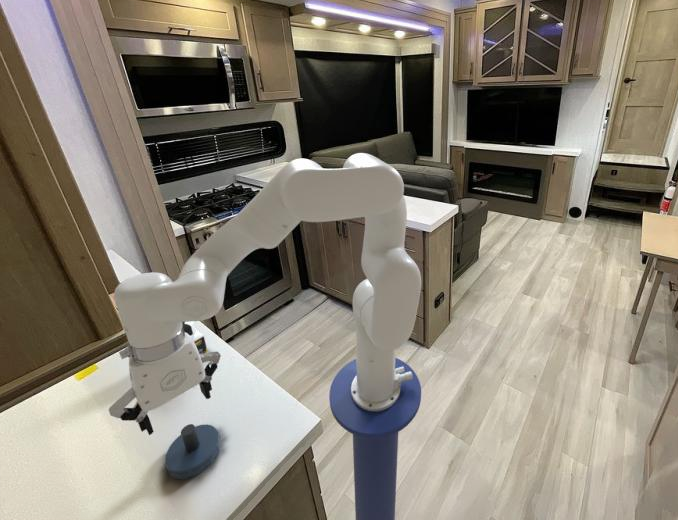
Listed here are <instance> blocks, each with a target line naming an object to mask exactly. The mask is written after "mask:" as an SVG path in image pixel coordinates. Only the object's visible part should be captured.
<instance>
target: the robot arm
mask: <svg viewBox="0 0 678 520" xmlns="http://www.w3.org/2000/svg"><path fill="white" fill-rule="evenodd" d="M404 193H405V183H404V181H403V177H402V175H401V174H400V173H399V171H398V170H397V169H395V168H394V167H393V166H392V165H391V164H389V163H386V162H385V161H383V160H381V159H380V158H378V157H377V156H374V155H372V154H369V153H365V152H357V153H354V154H352V155H351V156H348V158H347V159H346V160H345V162H344V164H343V166H342V167H341V168H323V167H322V166H321V165H320V164H319V163H317V162H315V161H314V160H311V159H308V158H295V159H293V160H290V161H289V162H288V163H286V164H284V166H283V167H282V168H281V169H280V170H279V171H278V172H277V173H276V174H275V175H274V176H273V177H272V178H271V179H270V180H269V181H268V182H267V183H266V184H265V185H264V186H263V188H262V189H260V190H259V192H258V193H256V195H255V196H254V197H253V198H252V199H251V200H250V201H248V203H247V204H246V205H245V206H244V207H243V208H242V209H240V211H239V212H238V213H237V214H236V215H235V216H234V217H232V218H231V219H229V220H228V221H226V223H225V224H223V225H222V226H221V227H219V228H218V229H216V231H215V232H213V233H212V234H211V235H210V236H209V237H208V238H207V239H206V240H205V241H204V242H203V243H202V244H201V245H200V246H199V247H198V248H197V249H196V251H195V252H193V254H191V255H190V257H189V258H188V259H187V261H186V262H185V263H184V265H183V267H182V269H181V271H180V273H179V275H178V278H177V279H176V280H175V281H173V280H172V279H171V277H170V276H168V275H167V274H165V273H162V272H155V271H154V272H153V271H152V272H145V273H139V274H136V275H133V276H130V277H128V278H126V279H125V280H123V281H122V282H120V283H119V284H118V285H117V286H116V287H115V289H114V292H113V300H114V303H115V306H116V308H117V312H118V315H119V317H120V321H121V323H122V327H123V331H124V333H125V335H126V339H127V343H128V344H127V345H126V347H125V348H124V349H123V350H120V351H119V352H118V353H119V356H120V358H121V360H124V359H126V358H128V369H129V370H128V372H129V379H130V383H131V386H132V387H130V388H129V389H128V390H127V391H126V392H125V393H124V394H123V395H122V396H121V397H119V398H118V399H117V400H116V401H115V402H114V403H113V404H112V405H111V406H109V408H108V414H109V415H110V416H111V417H114V418H116V419H120V420H121V421H129V422H131V421H135V422H136V423H137V424H138V427H139V430H140V431H141V432H144V431H146V432H147V434H148V436H151V435H152V434H154V432H155V431H154V428H153V426H152V423H151V419H150V417H149V415H148V413H149V412H150V411H153V410H155V409H158V408H159V407H162V406H163V405H164V404H167V403H168V402H170V401H172V400H173V399H176V398H177V397H179V396H181V395H183V394H184V393H186V392H188V391H189V390H191V389H193V388H194V387H196V386H197V385H199V390H200V392H201V394H202V395H203V396H204V398H205V399H206V400H209V399H211V391H212V390H213V388H212V382H211V381H212V380H213V375H214V373H215V372H216V370H217V369H218V364H219V362H220V360H221V357H222V355H221V354H220V352H219V351H211V352H210V351H209V352H208V353H202V354H199V352H198V349H197V347H196V345H195V343H194V341H193V339H192V337H191V336H190V335H188V334H187V333H186V332H184V328H183V324H182V322H192V321H193V322H202V321H206V320H209V319H211V318H212V317H215V316H216V315H217V314H218V313H219V312H220V311H221V309H222V307H223V304H224V301H225V300H224V299H225V292H226V283H227V278H228V276H229V275H230V274H231V273H232V271H233V270H234V269H236V267H237V266H238V265H239V264H240V263H241V262H242V261H243V260H244V259H245V258H246V257H247V256H248V255H250V254H251V253H253V252H254V251H256V250H259V249H266V250H271V249H275V248H277V247H278V246H279V245H280V244H281V243H283V241H284V240H285V239H286V238H287V236H288V235H289V234H290V233H291V232H292V231H293V230H294V229H295V228H296V227H297V226H298V225H299V224H300V223H301V222H306V223H324V222H326V223H327V222H335V221H343V220H344V221H345V220H351V219H357V218H364V233H363V241H362V251H361V258H360V265H361V269H362V272H363V274H364V275H365V277H366V279H364V280H362V281H361V282H359V284H358V285H356V288H354V289H355V290H354V292H353V295H352V312H353V319H354V326H355V327H354V328H355V329H354V330H355V353H356V355H355V357H356V358H355V359H356V364H357V375H356V376H355V378H354V379H353V382H352V384H351V395H352V398H353V400H354V402H355V403H356V404H357V405H358V406H359V407H361V408H362V409H365V410H368V411H382V410H385V409H387V408H389V407H390V406H392V405H393V404H394V403H395V402H396V401H397V399H398V397H399V395H400V384H401V383H402V382H403V381H408V380H411V379H413V376H412V372H411V371H410V372H406V373H404V374H401V375H400V374H399V373H402V372H404V371H405V370H404V367H399V368H396V369H395V358H396V350H398V349H400V348H401V347H403V346H404V345H405V343H407V342H408V340H409V339H410V337H411V335H412V333H413V331H414V327H415V323H416V319H417V314H418V308H419V303H420V302H419V301H420V298H421V297H420V296H421V291H422V276H421V271H420V268H419V266H418V264H417V263H416V262H415V261H414V259H413V258H412V257H411V256H410V255H409V254H408V253H407V251H406V248H405V241H406V240H405V239H406V230H407V217H408V211H407V203H406V199H405V195H404ZM207 362H208V363H207ZM204 363H207V365H206V366H205V367H204V365H203V364H204ZM397 373H398V374H397ZM134 399H136V402H135V404H134V406H133V407H127V406H129V404H131V402H132V401H133V400H134Z"/></svg>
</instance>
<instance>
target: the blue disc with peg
mask: <svg viewBox="0 0 678 520" xmlns="http://www.w3.org/2000/svg"><path fill="white" fill-rule="evenodd" d="M221 445H222V438H221V435H220V433H219V430H218V429H217V428H216V427H215V426H214V425H211V424H198V425H195V424H193V423H190V424H187V425H185V426H184V427H183V428H181V430H180V434H179V436H177V437H176V438H175V439H174V440H173V441H172V443H171V444H170V446H169V448H168V450H167V451H166V454H165V457H164V458H165V463H164V464H165V466H166V469H167V471H168V473H169V475H170V477H171V478H173V479H178V480H186V479H189V478H192V477H196V476H199V474H201V473H203V472H204V471H205V470H206V469H207V468H208V467H210V466H211V465H212V464H213V462H214V461H215V460H216V458H217V456H218V455H219V454H220V452H221Z"/></svg>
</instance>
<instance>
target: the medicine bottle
mask: <svg viewBox="0 0 678 520" xmlns="http://www.w3.org/2000/svg"><path fill="white" fill-rule="evenodd" d="M182 324H183V328H184V332H186V333H187V334H188V335H190V336H191V337H192V339H193V341H194V343H195V345H196V347H197V349H198V352H199V354H202V353H209V352H208V348H207V343H206V339H205V335H204V334H203V333H201V332H200V331H198V330H197V329H196V326H195V321H192V322H182Z"/></svg>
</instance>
